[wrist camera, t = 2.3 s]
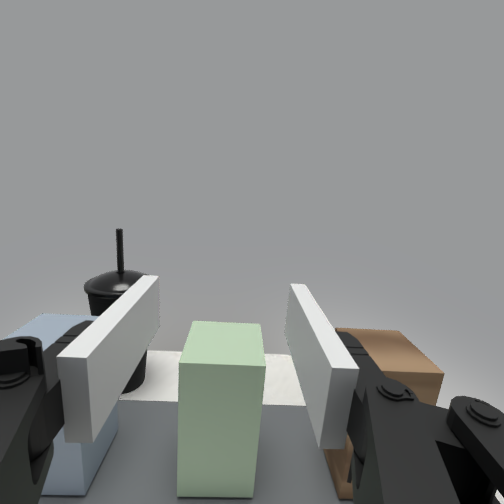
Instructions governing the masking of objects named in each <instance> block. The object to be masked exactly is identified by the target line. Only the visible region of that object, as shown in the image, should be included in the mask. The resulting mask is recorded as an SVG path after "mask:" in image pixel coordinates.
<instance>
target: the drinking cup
mask: <svg viewBox="0 0 504 504" xmlns="http://www.w3.org/2000/svg"><path fill="white" fill-rule="evenodd" d="M116 240H117V241H116V242H117V267H118V270H115V271H111V272H107V273H104V274H101V275H99V276H97V277H94V278H92V279H90V280H89V281H87V282H86V283H85V285H84V291H85V292H86V293H87V294H88V299H89V305H90V310H91V316H100V315H101V314H102V313H104V312H105V311H106V310H107V309H108V308H109V307H110V306H111V305H112V304H113V303H114V302H115V301H116V300H118V299H119V298H120V297H121V296H122V295H123V294H124V293H125V292H126V291H127V290H128V289H129V288H130V287H131V286H133V285H134V284H135V283H136V282H137V281H138V280H139V279H140V278H141V277H142V276H143V275H147V274H143V273H140V272H137V271H132V270H124V259H123V230H122V229H116ZM148 276H150V275H148ZM146 356H147V350H146V351H145V353H144V355H143V357H142V358H141V360H140V362H139V364H138V365H137V367H136V369H135V371H134V372H133V374H132V376H131V378H130V379H129V381H128V383H127V385H126V386H125V388H124V390H123V392H122V393H121V394H123V393H127V392H130V391H133V390H135V389H136V388H138V387H139V386H140V385H141V384H142V383H143V381H144V378H145V367H146Z"/></svg>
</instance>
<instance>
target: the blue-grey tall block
mask: <svg viewBox="0 0 504 504" xmlns="http://www.w3.org/2000/svg"><path fill="white" fill-rule="evenodd" d="M98 317H99V316H85V315H64V314H43V313H42V314H41V315H39V316H38V317H37V318H35V319H33V320H32V321H30V322H29V323H27V324H26V325H24V326H23V327H21V328H19V329H18V330H16V331H15V332H13V333H12V334H10V335H9V336H7V337H6V338H4V339H7V338H13V337H19V336H32V337H36V338H39V339H40V340H41V341H42V347H43V351H44V350H45V349H47V348H48V347H49V346H50V345H51V344H52V343H55V341H56V340H57V339H58V338H60V337H61V336H63V334H64V333H66V332H67V331H68V330H69V329H70V328H71V327H73V326H75V325H77V324H79V323H81V322H83V321H85V320H92V321H95V320H96V319H97V318H98ZM4 339H3V340H4ZM117 430H118V409H117V402H116V404H115V406H114V407H113V409H112V411H111V413H110V414H109V416H108V418H107V420H106V421H105V423H104V425H103V427H102V428H101V430H100V432H99V434H98V435H97V437H96V439H95V441H94V442H93V443H65V437H64V427H62V428H61V430H60V431H59V432H58V434H57V435H56V437H55V438H54V439H53V443H54V455H53V458H52V461H51V465H50V468H49V471H48V474H47V477H46V480H45V484H44V487H43V490H42V493H41V495H85V494H86V492H87V490H88V488H89V486H90V484H91V482H92V480H93V478H94V476H95V474H96V472H97V470H98V468H99V466H100V464H101V462H102V460H103V458H104V456H105V454H106V452H107V450H108V448H109V446H110V444H111V442H112V440H113V438H114V436H115V434H116V432H117Z"/></svg>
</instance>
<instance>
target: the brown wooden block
mask: <svg viewBox="0 0 504 504" xmlns="http://www.w3.org/2000/svg"><path fill="white" fill-rule="evenodd" d="M335 331H340V332H348V333H350V334H351V335H352V336H354V337H355V338H357V339H358V340H359V342H360V343H361V344H362V346H363V347H364V349H365V350H366V351H367V352H368V354H369V356H371V358H372V359H373V360H374V361H375V363H376V364H377V365H378V367H379V368H380V369H381V371H382V372H383V373H384V375H385V376H386V377H388V378H391V379H394V380H397V381H399V382H401V383H402V384H404V385H406V386H407V387H408V388H410V389H411V390H412V391H413V392H414V393H415V395H416V396H417V398H418V399H419V401H420V402H423V403H426V404H430V405H434V406H436V403H437V399H438V395H439V392H440V388H441V384H442V381H443V377H444V372H443V371H441V370H440V369H439V368H438V367H437V366H436V365H435V364H434V363H433V362H432V361H431V360H430V359H428V358H427V357H426V356H425V355H424V354H423V353H422V352H421V351H420V350H419V349H418V348H417V347H416V346H414V345H413V344H412V343H411V342H410V341H409V340H408V339H407V338H406V337H405V336H404V335H402V334H401V333H400V332H399V331H392V330H371V329H351V328H335ZM353 448H354V447H353V445H352V443H351V440H350V438H349V436H348V433H347V437H346V442H345V448H344V449H323V450H324V453H325V456H326V459H327V463H328V466H329V469H330V472H331V475H332V479H333V482H334V485H335V488H336V491H337V494H338V498H339V499H353V488H352V481H351V483H348V482H347V478H348V473H349V468H350V463H351V458H352V453H353Z"/></svg>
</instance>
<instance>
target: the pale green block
mask: <svg viewBox="0 0 504 504" xmlns="http://www.w3.org/2000/svg"><path fill="white" fill-rule="evenodd" d="M265 371H266V363H265V356H264V349H263V341H262V334H261V328H260V324H249V323H248V324H247V323H228V322H227V323H226V322H207V321H206V322H205V321H193V323H192V326H191V329H190V332H189V335H188V338H187V341H186V344H185V346H184V349H183V352H182V355H181V358H180V361H179V387H178V454H177V497H250V498H253V492H254V482H255V472H256V462H257V451H258V441H259V431H260V421H261V411H262V401H263V391H264V381H265Z"/></svg>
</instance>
